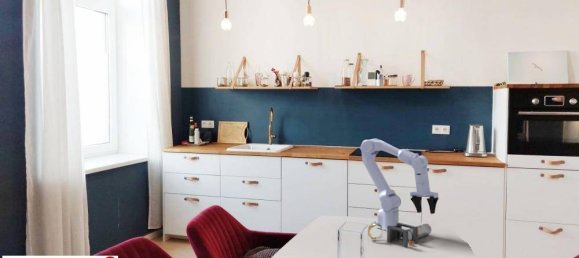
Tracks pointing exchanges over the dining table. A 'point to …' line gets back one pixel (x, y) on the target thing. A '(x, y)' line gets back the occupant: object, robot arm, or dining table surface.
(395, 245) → the dining table surface
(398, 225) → the black bracket with roller
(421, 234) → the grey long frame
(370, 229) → the alarm clock
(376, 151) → the robot arm
